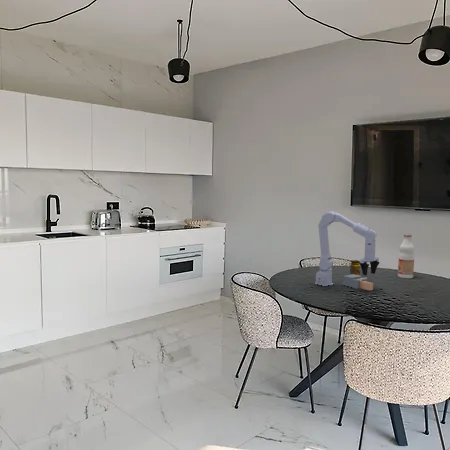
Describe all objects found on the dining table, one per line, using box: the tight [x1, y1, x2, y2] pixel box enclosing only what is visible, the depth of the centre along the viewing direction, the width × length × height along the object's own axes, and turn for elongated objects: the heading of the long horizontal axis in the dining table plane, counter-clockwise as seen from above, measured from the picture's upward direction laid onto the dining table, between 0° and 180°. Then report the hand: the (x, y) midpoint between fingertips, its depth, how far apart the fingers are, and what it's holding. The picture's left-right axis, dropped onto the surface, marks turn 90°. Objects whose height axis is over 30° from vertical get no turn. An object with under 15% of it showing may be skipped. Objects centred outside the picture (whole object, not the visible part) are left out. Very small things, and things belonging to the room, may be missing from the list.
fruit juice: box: [397, 233, 415, 279], centre depth 291 cm, size 9×9×28 cm
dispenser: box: [342, 274, 368, 290], centre depth 265 cm, size 10×9×6 cm
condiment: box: [349, 259, 361, 276], centre depth 284 cm, size 7×8×12 cm
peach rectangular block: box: [359, 280, 374, 291], centre depth 260 cm, size 9×3×4 cm, turn 36°
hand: (368, 274), depth 257 cm, fingers open, 7 cm apart
